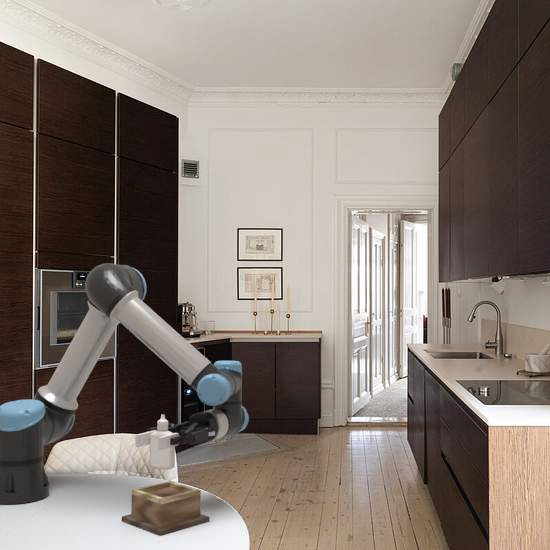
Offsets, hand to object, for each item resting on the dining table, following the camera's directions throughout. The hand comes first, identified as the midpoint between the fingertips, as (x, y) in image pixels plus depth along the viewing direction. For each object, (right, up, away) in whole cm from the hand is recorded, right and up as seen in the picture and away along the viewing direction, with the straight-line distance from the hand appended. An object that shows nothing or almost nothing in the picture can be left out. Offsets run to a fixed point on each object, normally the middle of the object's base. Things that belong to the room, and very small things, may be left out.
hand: (148, 442), depth 153 cm
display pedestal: (+3, -19, +4) cm, 19 cm away
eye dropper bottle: (+2, -7, +4) cm, 9 cm away
